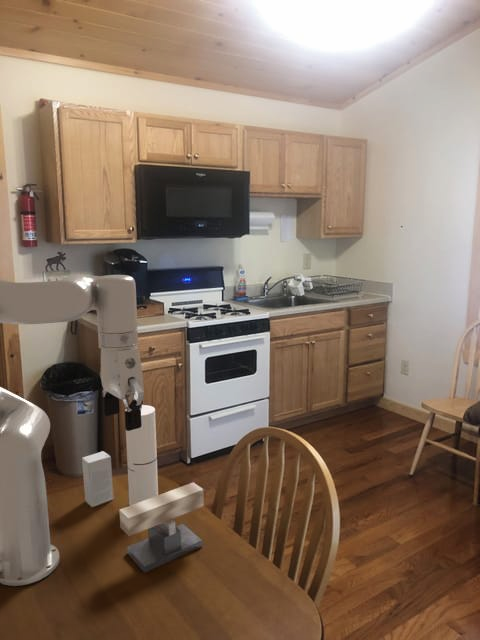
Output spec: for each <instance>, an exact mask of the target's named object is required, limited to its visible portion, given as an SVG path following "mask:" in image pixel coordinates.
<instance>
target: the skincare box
mask: <svg viewBox="0 0 480 640" xmlns="http://www.w3.org/2000/svg"><path fill="white" fill-rule="evenodd" d="M81 464H82V475H83V487H84V500H85V502H86V503H87V504H88V506H90V507H91V508H95V507H97V506H99V505H102V504H105V503H108V502H110V501H113V500H114V487H113V472H112V457H111V455H110V454H108V453H107V452H105V451H103V450H101V451H100V452H99V451H98V452H96V453H93V454H89V455H87V456H82V458H81Z"/></svg>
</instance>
